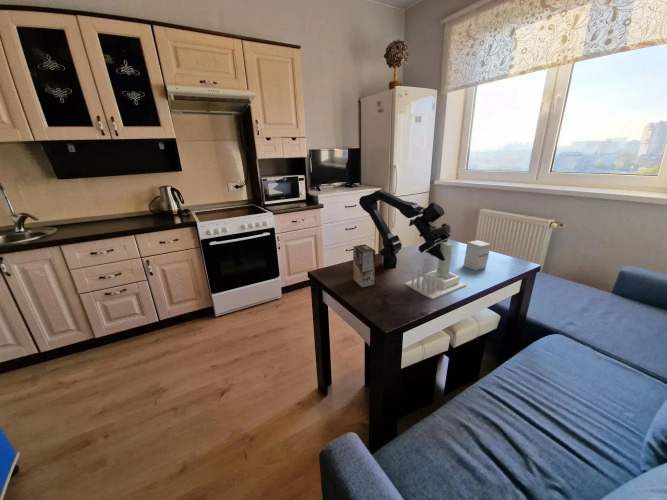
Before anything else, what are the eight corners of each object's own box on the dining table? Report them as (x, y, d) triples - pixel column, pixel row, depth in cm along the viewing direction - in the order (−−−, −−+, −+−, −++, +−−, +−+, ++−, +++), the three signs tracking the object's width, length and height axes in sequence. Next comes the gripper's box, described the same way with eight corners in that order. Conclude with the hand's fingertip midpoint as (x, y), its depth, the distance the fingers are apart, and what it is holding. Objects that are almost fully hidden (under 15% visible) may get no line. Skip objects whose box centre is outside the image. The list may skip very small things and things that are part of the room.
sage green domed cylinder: (436, 273, 116) (440, 245, 111) (436, 269, 120) (440, 241, 115) (448, 275, 114) (453, 246, 109) (448, 270, 118) (452, 242, 114)
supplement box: (475, 271, 129) (480, 246, 125) (462, 265, 136) (466, 241, 131) (486, 268, 132) (491, 243, 128) (473, 262, 139) (477, 239, 134)
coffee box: (374, 284, 118) (376, 250, 112) (362, 287, 116) (362, 252, 110) (364, 276, 126) (365, 243, 120) (352, 279, 124) (352, 245, 118)
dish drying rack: (432, 299, 106) (434, 284, 103) (404, 284, 118) (405, 270, 115) (466, 286, 116) (468, 271, 113) (437, 273, 128) (439, 260, 125)
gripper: (428, 222, 105) (453, 255, 102) (449, 214, 118) (471, 243, 114) (409, 237, 113) (430, 268, 110) (430, 228, 126) (450, 256, 122)
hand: (446, 258), depth 114 cm, fingers closed on sage green domed cylinder, 5 cm apart
